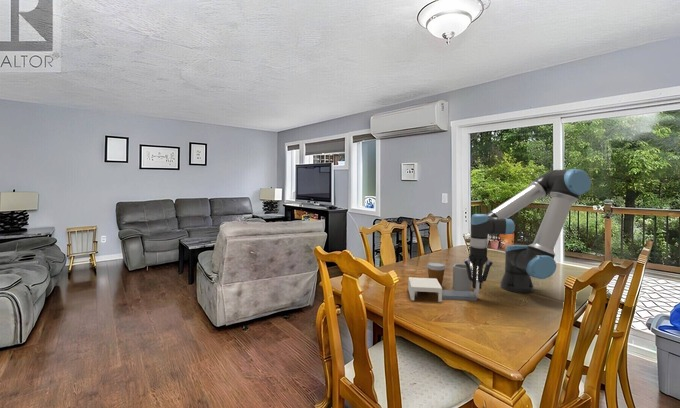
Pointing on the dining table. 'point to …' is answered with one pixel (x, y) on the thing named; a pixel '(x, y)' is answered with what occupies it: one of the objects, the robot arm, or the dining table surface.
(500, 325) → the dining table surface
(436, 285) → the shelf
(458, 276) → the cup
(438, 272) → the disposable coffee cup
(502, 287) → the robot arm
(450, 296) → the tile
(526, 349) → the dining table surface
